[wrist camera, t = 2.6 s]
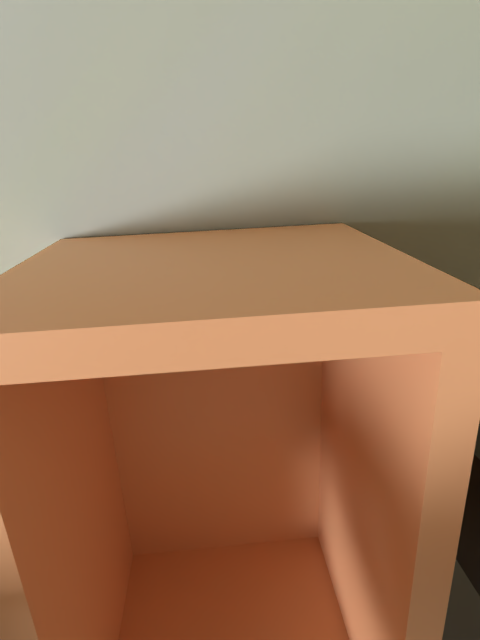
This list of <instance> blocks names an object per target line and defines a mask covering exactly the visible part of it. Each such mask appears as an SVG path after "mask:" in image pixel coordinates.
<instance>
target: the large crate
mask: <svg viewBox="0 0 480 640" xmlns="http://www.w3.org/2000/svg"><path fill="white" fill-rule="evenodd" d="M442 640H480V596H479V595H478V593H477V591H476V590H475V588H474V587H473V585H472V583H471V582H470V580H469V579H468V577H467V576H466V574H465V572H464V571H463V569H462V568H461V566H460V565H459V563H458V561H457V560H456V561H455V567H454V573H453V578H452V584H451V590H450V596H449V602H448V608H447V613H446V619H445V625H444V631H443V637H442Z"/></svg>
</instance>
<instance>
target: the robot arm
mask: <svg viewBox="0 0 480 640" xmlns="http://www.w3.org/2000/svg"><path fill="white" fill-rule="evenodd" d="M456 560H457V561H458V563H459V565H460V566H461V568H462V569H463V571H464V572H465V574H466V576H467V577H468V579H469V580H470V582H471V583H472V585H473V587H474V588H475V590H476V591H477V593H478V595H479V596H480V421H479V427H478V433H477V438H476V444H475V450H474V456H473V462H472V468H471V473H470V479H469V485H468V491H467V497H466V503H465V508H464V514H463V520H462V526H461V532H460V538H459V543H458V549H457V555H456Z"/></svg>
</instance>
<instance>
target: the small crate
mask: <svg viewBox="0 0 480 640" xmlns="http://www.w3.org/2000/svg"><path fill="white" fill-rule="evenodd" d="M479 421H480V289H478V288H476V287H474V286H471V285H469V284H467V283H465V282H463V281H461V280H459V279H457V278H455V277H453V276H451V275H449V274H447V273H445V272H443V271H440V270H438V269H436V268H434V267H432V266H430V265H428V264H426V263H424V262H422V261H420V260H418V259H416V258H414V257H412V256H409V255H407V254H405V253H403V252H401V251H399V250H397V249H395V248H393V247H391V246H389V245H387V244H385V243H383V242H381V241H379V240H376V239H374V238H372V237H370V236H368V235H366V234H364V233H362V232H360V231H358V230H356V229H354V228H352V227H350V226H348V225H345V224H343V223H335V224H317V225H300V226H282V227H265V228H247V229H229V230H212V231H194V232H177V233H159V234H141V235H124V236H106V237H89V238H71V239H60V240H59V241H57V242H55V243H53V244H52V245H50V246H48V247H47V248H45V249H43V250H42V251H40V252H38V253H37V254H35V255H33V256H32V257H30V258H28V259H27V260H25V261H23V262H21V263H20V264H18V265H16V266H15V267H13V268H11V269H10V270H8V271H6V272H5V273H3V274H1V275H0V640H442V637H443V631H444V625H445V619H446V613H447V608H448V602H449V596H450V590H451V584H452V578H453V573H454V567H455V561H456V555H457V549H458V543H459V538H460V532H461V526H462V520H463V514H464V508H465V503H466V497H467V491H468V485H469V479H470V473H471V468H472V462H473V456H474V450H475V444H476V438H477V433H478V427H479Z"/></svg>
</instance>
